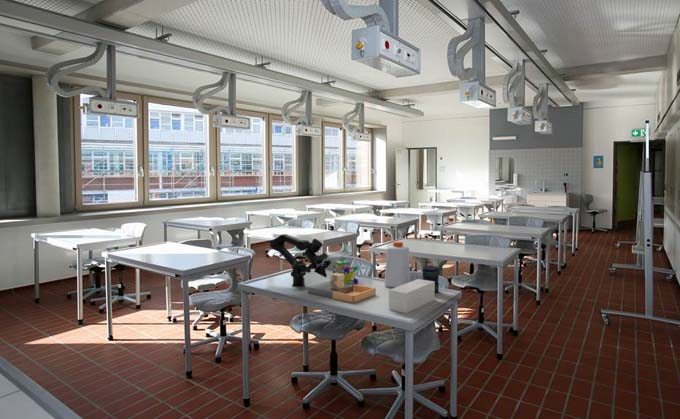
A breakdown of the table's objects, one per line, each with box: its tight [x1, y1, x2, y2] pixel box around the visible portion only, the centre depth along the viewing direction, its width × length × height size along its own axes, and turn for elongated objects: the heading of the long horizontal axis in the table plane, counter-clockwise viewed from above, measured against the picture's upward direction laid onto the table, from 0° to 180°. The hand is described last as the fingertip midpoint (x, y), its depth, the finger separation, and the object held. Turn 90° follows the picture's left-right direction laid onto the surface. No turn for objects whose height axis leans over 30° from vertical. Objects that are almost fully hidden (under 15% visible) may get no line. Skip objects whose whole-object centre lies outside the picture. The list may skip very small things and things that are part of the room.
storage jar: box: [422, 265, 440, 294], centre depth 284 cm, size 10×10×15 cm
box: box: [332, 284, 377, 304], centre depth 273 cm, size 15×22×4 cm
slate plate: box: [307, 280, 355, 299], centre depth 284 cm, size 20×20×4 cm
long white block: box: [388, 278, 436, 314], centre depth 257 cm, size 32×11×11 cm, turn 142°
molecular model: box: [342, 265, 359, 285], centre depth 304 cm, size 12×7×12 cm, turn 130°
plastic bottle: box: [384, 241, 412, 289], centre depth 298 cm, size 15×15×28 cm
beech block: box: [329, 273, 345, 289], centre depth 280 cm, size 6×6×8 cm
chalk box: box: [332, 256, 351, 279], centre depth 320 cm, size 9×9×15 cm
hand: (326, 276), depth 285 cm, fingers closed
